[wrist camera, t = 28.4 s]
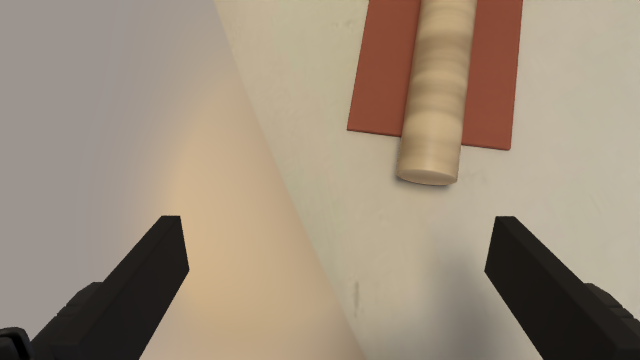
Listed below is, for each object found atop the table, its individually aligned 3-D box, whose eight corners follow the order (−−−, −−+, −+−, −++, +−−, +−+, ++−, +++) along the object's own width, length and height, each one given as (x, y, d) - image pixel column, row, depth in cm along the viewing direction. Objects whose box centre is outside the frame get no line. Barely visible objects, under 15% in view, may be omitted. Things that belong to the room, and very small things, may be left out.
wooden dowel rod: (450, 188, 26) (463, 175, 22) (394, 179, 26) (397, 166, 23) (477, -48, 29) (493, -94, 26) (427, -49, 30) (435, -94, 26)
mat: (347, 130, 28) (346, 128, 28) (377, -42, 31) (377, -46, 31) (508, 150, 26) (510, 148, 26) (524, -36, 29) (526, -40, 29)
